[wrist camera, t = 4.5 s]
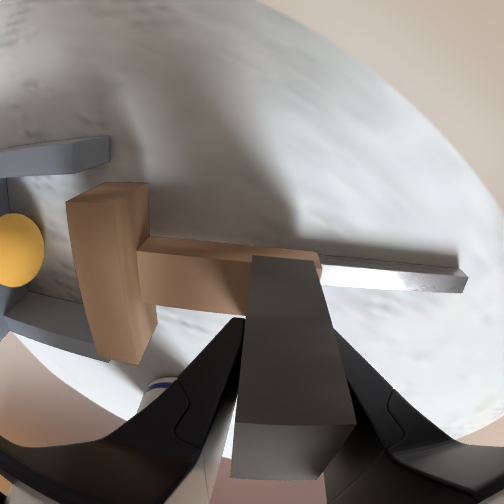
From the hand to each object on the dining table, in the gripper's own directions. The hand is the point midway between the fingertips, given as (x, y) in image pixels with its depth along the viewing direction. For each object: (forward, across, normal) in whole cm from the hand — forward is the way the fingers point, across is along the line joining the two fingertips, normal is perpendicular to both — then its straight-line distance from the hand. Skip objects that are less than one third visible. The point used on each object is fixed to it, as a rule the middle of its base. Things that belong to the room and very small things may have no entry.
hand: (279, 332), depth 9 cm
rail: (+5, -5, 0) cm, 7 cm away
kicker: (+4, +3, 0) cm, 5 cm away
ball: (+3, +14, 0) cm, 14 cm away
